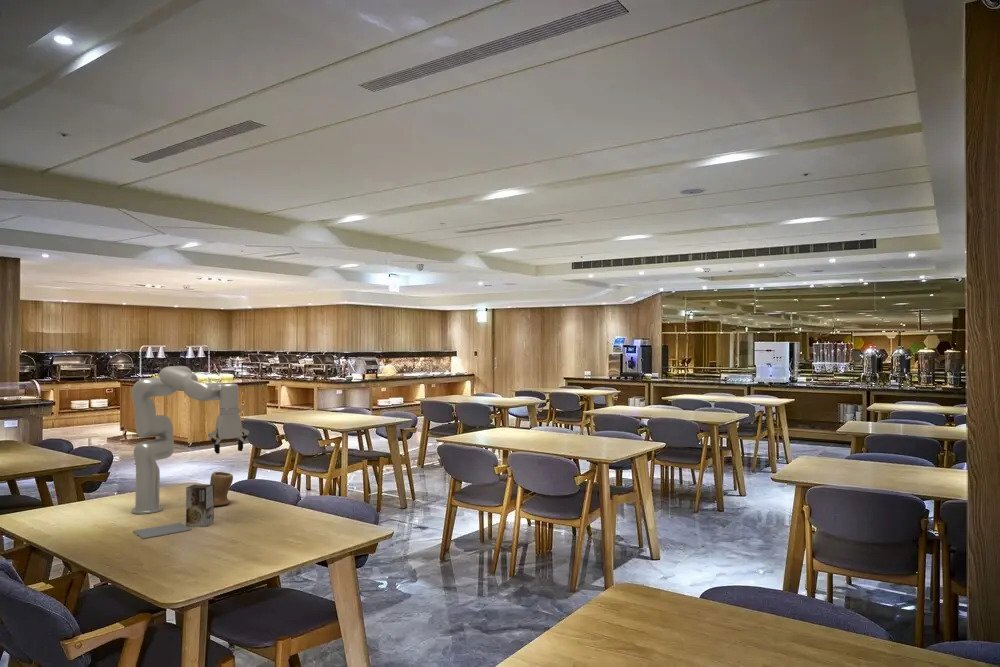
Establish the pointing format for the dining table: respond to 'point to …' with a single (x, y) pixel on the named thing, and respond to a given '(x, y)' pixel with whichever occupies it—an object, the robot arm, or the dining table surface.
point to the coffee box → (199, 505)
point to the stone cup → (221, 487)
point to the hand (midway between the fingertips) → (228, 452)
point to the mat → (161, 530)
